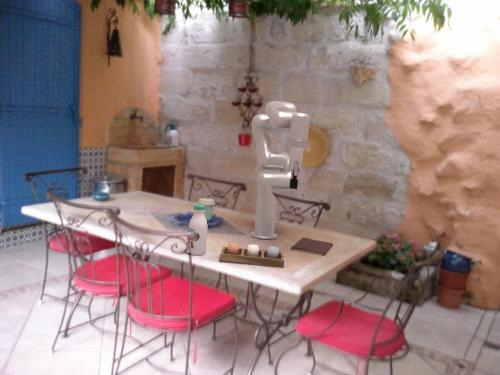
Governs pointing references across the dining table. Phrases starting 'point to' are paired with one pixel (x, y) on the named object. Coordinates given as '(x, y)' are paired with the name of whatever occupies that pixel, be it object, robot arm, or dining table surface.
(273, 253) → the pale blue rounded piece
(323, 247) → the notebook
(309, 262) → the dining table surface
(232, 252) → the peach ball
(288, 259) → the dining table surface
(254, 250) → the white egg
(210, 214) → the coffee cup
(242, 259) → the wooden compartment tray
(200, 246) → the milk bottle
